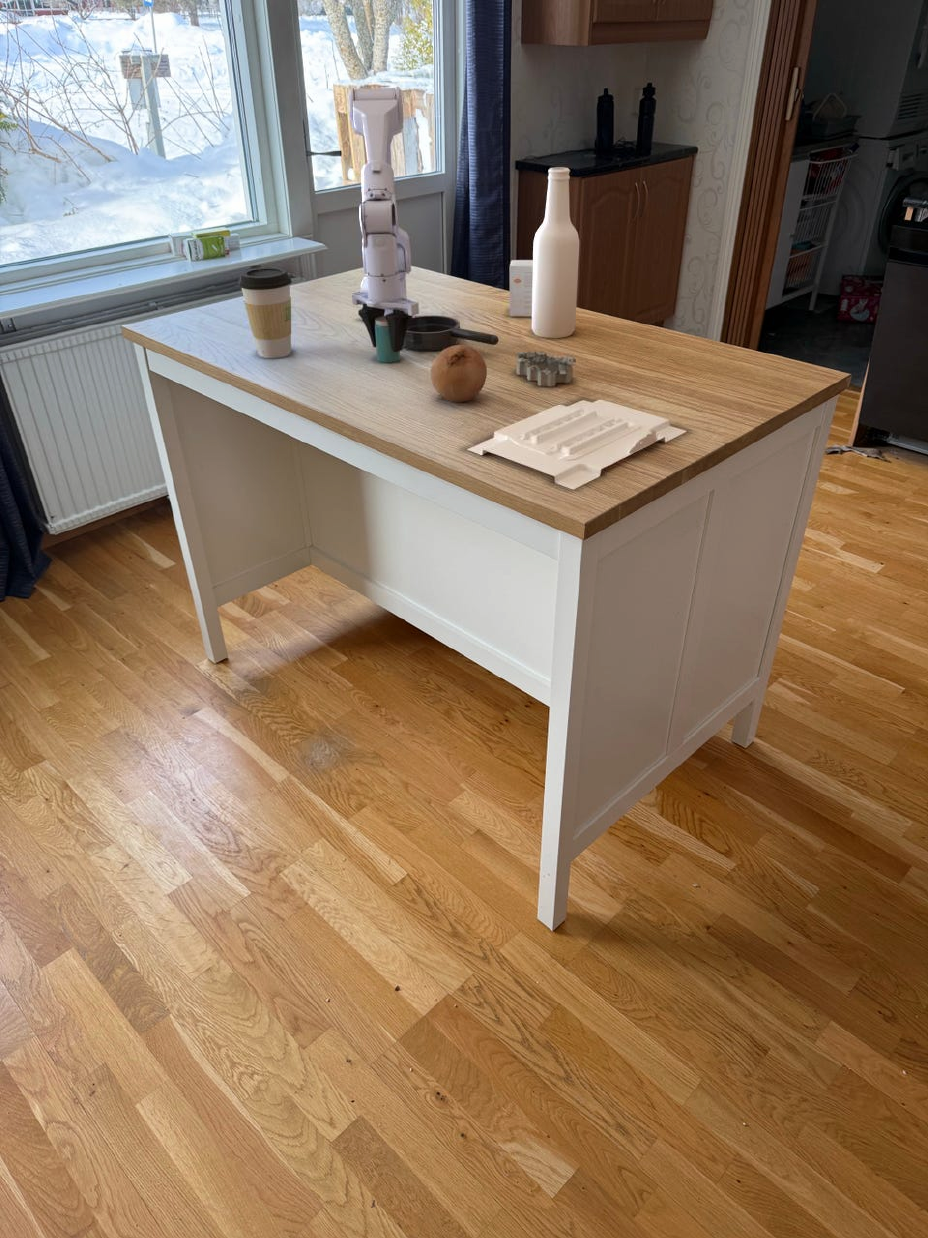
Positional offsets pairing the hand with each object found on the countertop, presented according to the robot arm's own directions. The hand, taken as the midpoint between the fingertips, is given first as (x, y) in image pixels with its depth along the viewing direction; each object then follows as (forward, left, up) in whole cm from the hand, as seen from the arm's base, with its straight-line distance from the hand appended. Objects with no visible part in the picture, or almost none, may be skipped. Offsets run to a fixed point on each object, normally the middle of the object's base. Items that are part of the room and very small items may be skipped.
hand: (387, 348), depth 169 cm
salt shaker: (0, 0, -2) cm, 2 cm away
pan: (0, +12, -2) cm, 13 cm away
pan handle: (+11, +12, 0) cm, 17 cm away
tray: (+50, -14, -2) cm, 52 cm away
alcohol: (+17, +31, -2) cm, 36 cm away
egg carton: (+30, +7, -2) cm, 31 cm away
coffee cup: (-21, -10, -2) cm, 23 cm away
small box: (+5, +40, -2) cm, 41 cm away
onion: (+24, -10, -2) cm, 26 cm away
